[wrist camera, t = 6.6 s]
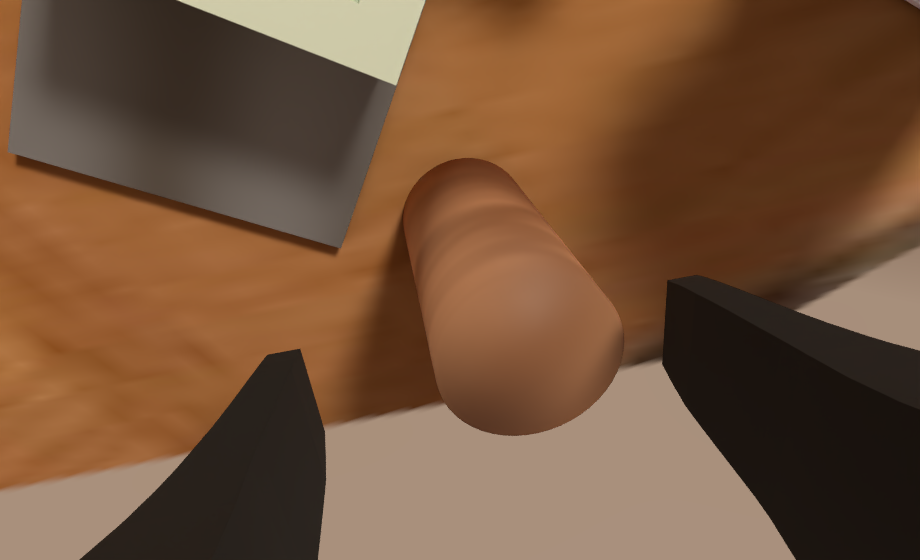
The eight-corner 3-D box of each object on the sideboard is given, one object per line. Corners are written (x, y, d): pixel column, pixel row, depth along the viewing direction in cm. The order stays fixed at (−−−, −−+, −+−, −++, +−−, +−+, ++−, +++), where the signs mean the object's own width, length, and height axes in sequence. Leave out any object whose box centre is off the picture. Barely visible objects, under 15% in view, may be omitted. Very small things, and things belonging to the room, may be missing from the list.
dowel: (544, 182, 19) (658, 304, 12) (495, 286, 20) (570, 449, 13) (429, 140, 18) (481, 248, 11) (385, 254, 19) (406, 416, 12)
